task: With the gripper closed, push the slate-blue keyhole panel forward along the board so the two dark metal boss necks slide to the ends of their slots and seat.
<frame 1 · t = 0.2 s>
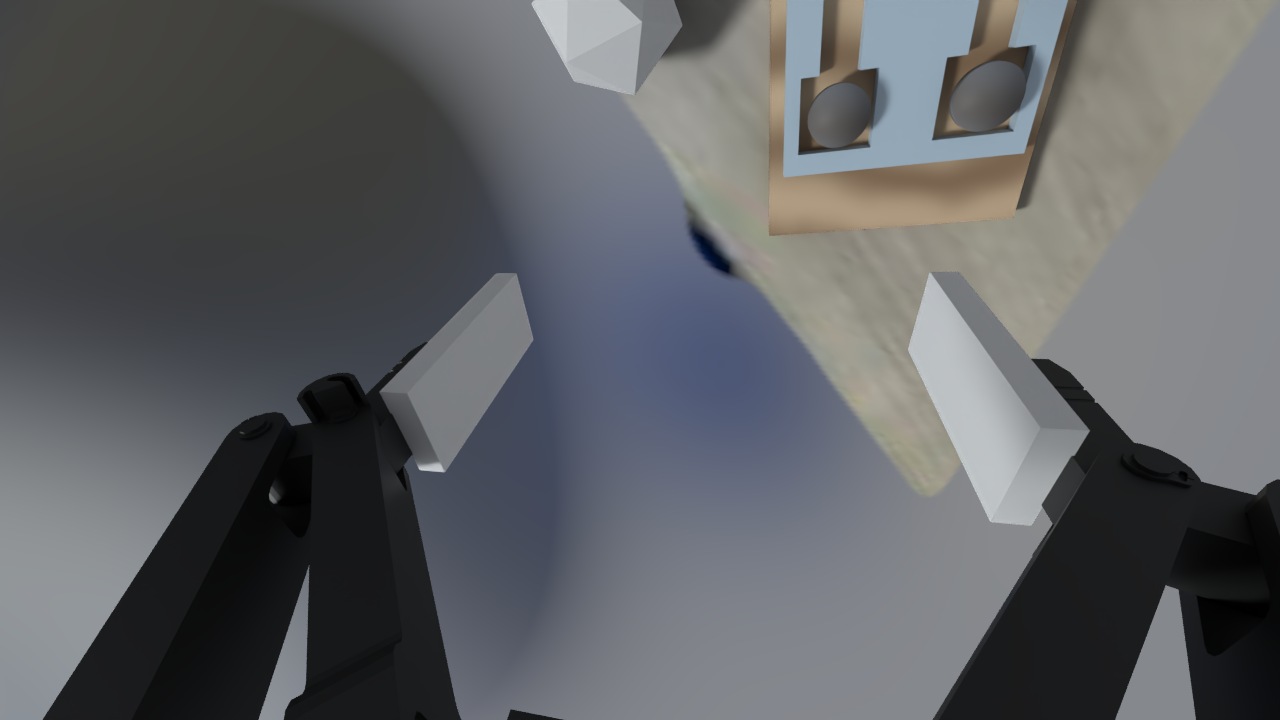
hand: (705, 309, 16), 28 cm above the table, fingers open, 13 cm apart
die: (621, 15, 35), on the table
board: (905, 51, 33), on the table
panel: (918, 54, 30), point 3 cm above the table, slide at 0.0 cm
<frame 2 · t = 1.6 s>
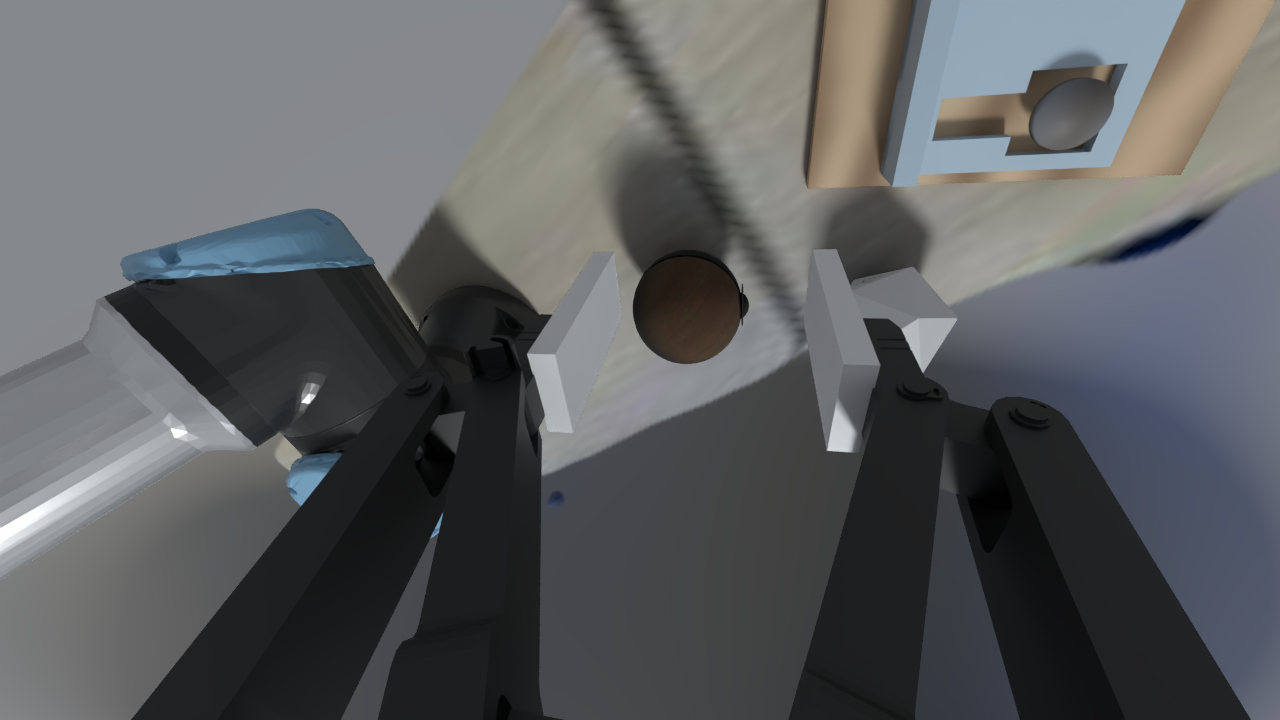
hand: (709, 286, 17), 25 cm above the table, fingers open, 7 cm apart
die: (874, 300, 43), on the table
board: (1019, 31, 30), on the table
toy: (695, 280, 45), on the table
panel: (1043, 33, 28), point 3 cm above the table, slide at 0.0 cm
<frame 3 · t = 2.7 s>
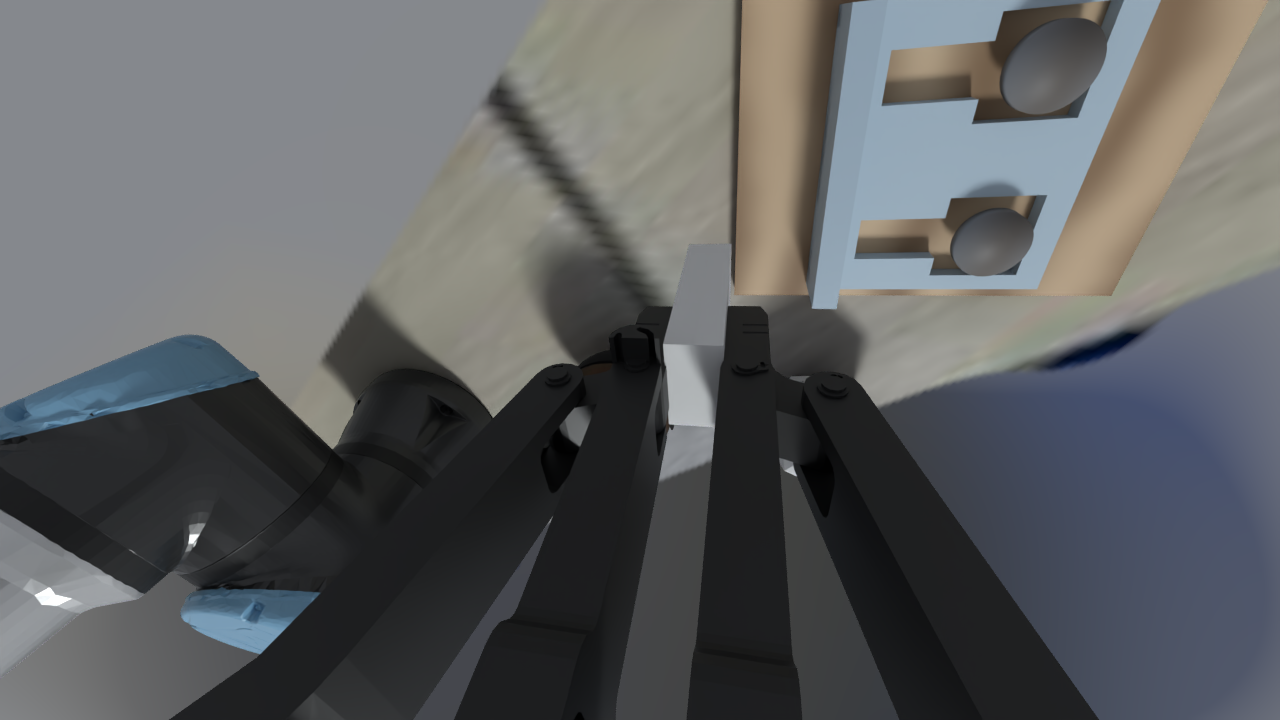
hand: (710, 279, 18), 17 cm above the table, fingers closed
board: (938, 154, 29), on the table
toy: (631, 371, 43), on the table
panel: (956, 167, 26), point 3 cm above the table, slide at 0.0 cm
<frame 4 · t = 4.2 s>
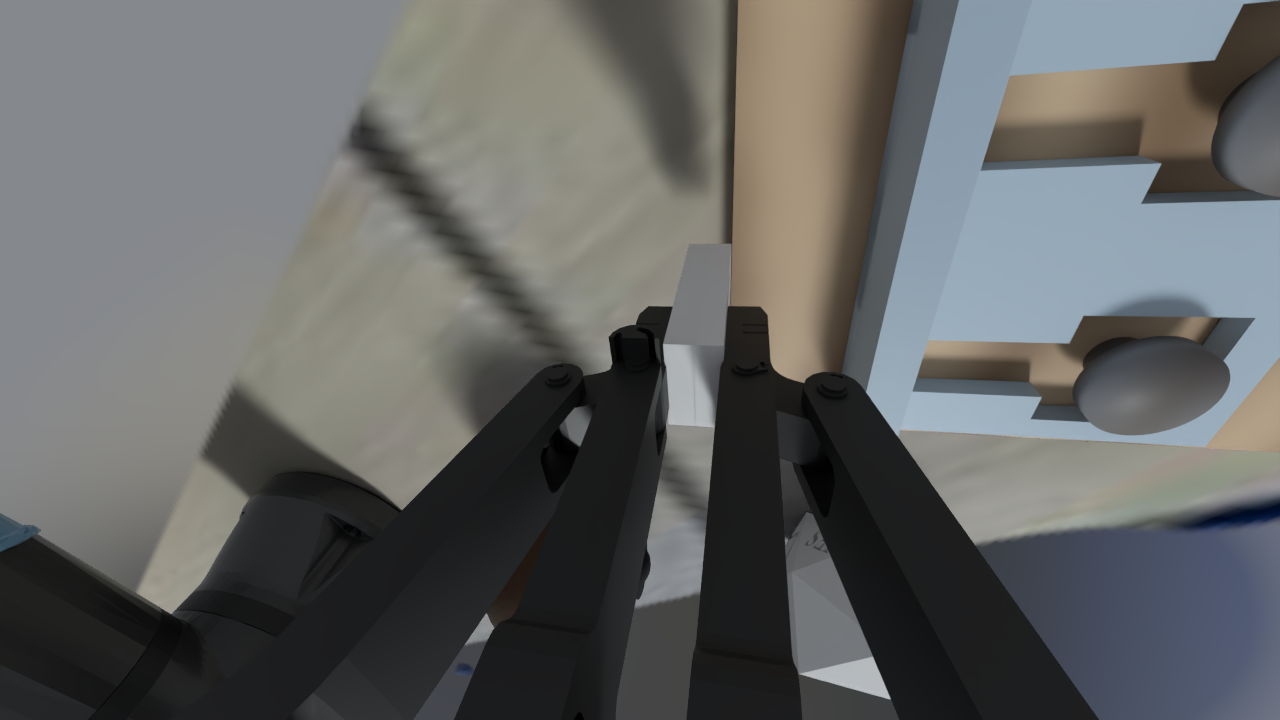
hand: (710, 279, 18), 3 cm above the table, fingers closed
die: (837, 534, 30), on the table
board: (1058, 239, 18), on the table
toy: (591, 491, 32), on the table
panel: (1109, 275, 15), point 3 cm above the table, slide at 0.0 cm
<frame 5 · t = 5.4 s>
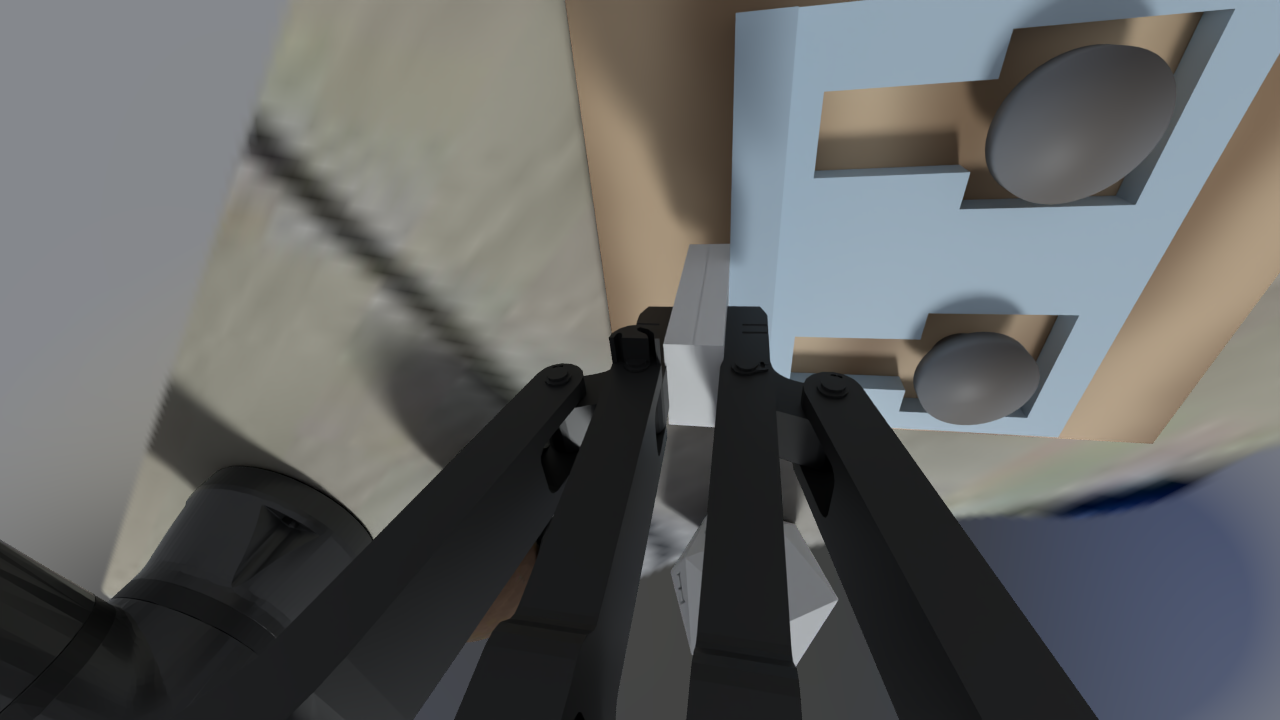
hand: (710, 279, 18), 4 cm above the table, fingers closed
die: (747, 524, 31), on the table
board: (895, 241, 19), on the table
toy: (515, 483, 33), on the table
panel: (935, 275, 16), point 3 cm above the table, slide at 0.6 cm, touching gripper
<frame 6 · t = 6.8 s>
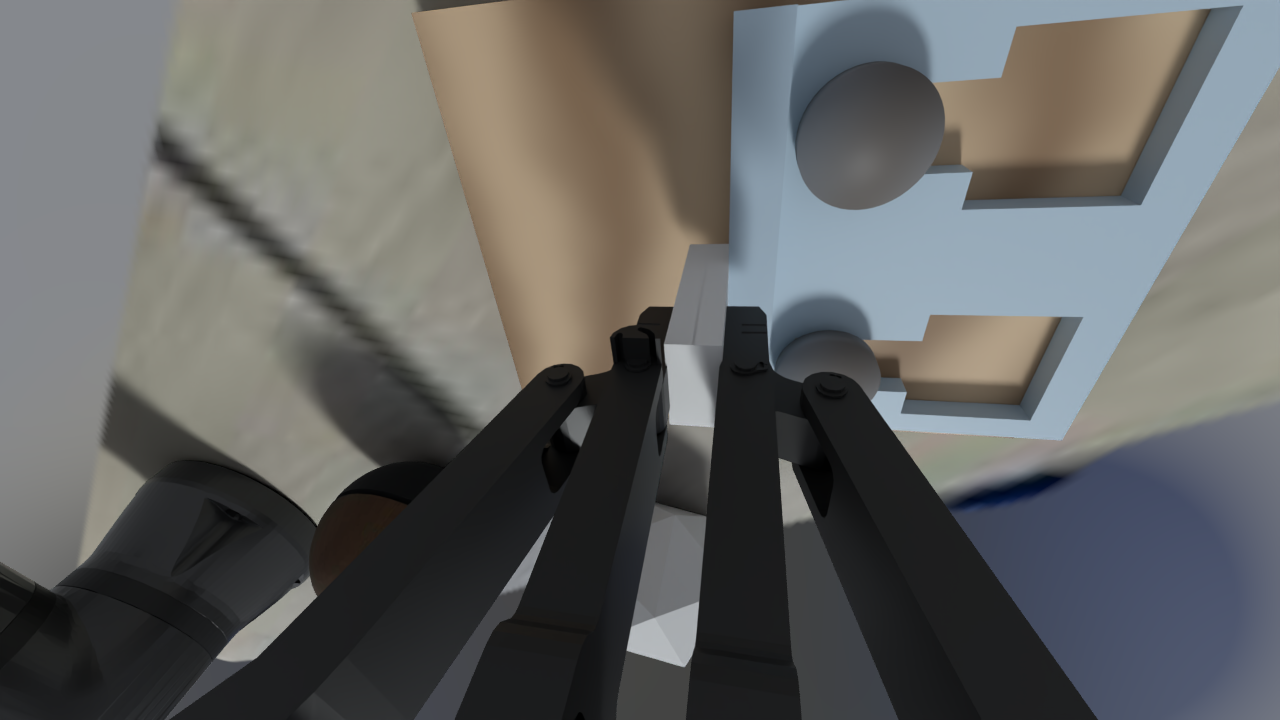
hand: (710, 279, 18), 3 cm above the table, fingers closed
die: (665, 517, 32), on the table
board: (755, 244, 20), on the table
toy: (445, 477, 34), on the table
panel: (937, 276, 16), point 3 cm above the table, slide at 6.1 cm, touching gripper
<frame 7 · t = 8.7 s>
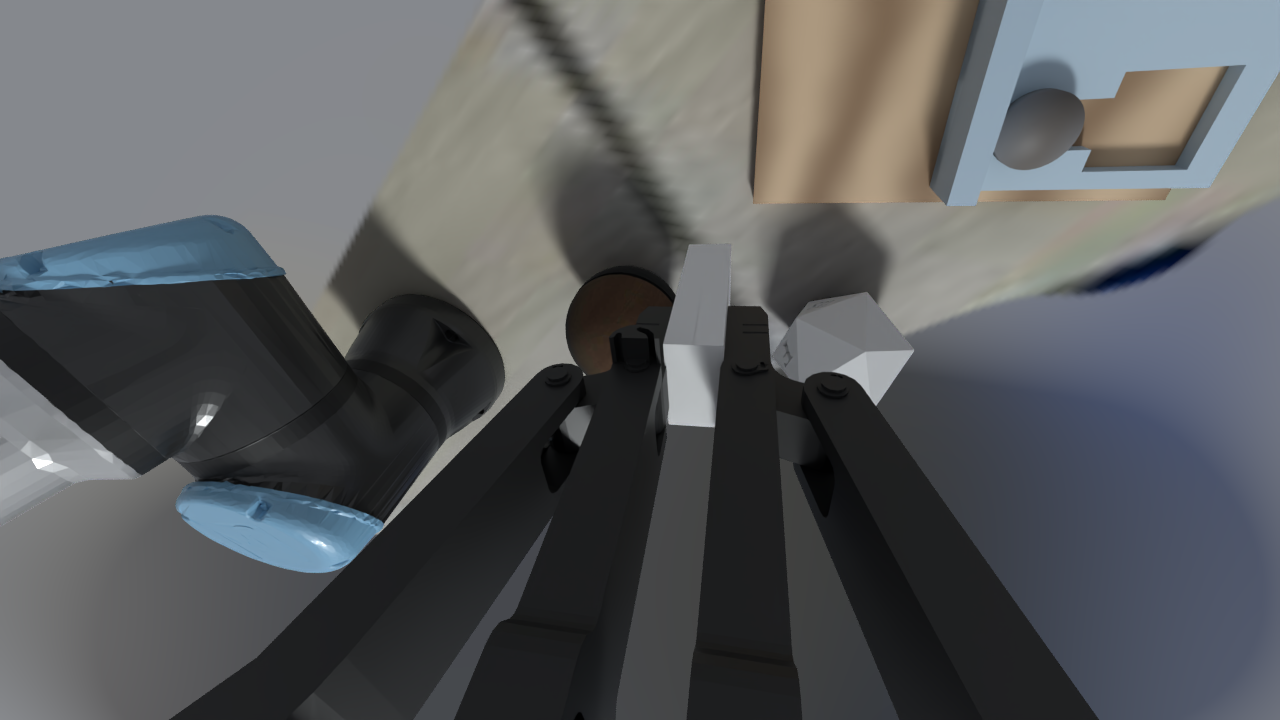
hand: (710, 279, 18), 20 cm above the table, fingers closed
die: (832, 324, 39), on the table
board: (981, 34, 27), on the table
toy: (642, 296, 42), on the table
panel: (1145, 26, 23), point 3 cm above the table, slide at 6.0 cm
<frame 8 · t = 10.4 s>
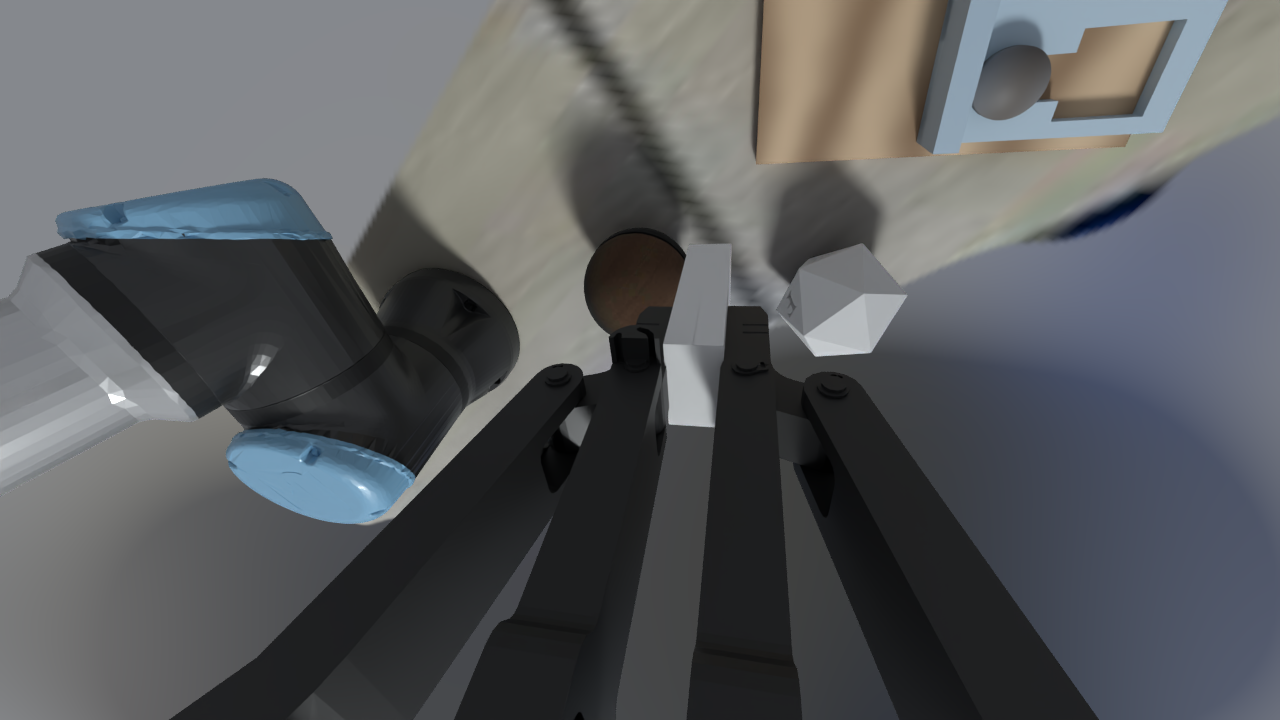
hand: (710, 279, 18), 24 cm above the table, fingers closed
die: (830, 280, 42), on the table
board: (958, 0, 30), on the table
toy: (652, 260, 44), on the table
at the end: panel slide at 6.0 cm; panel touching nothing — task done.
